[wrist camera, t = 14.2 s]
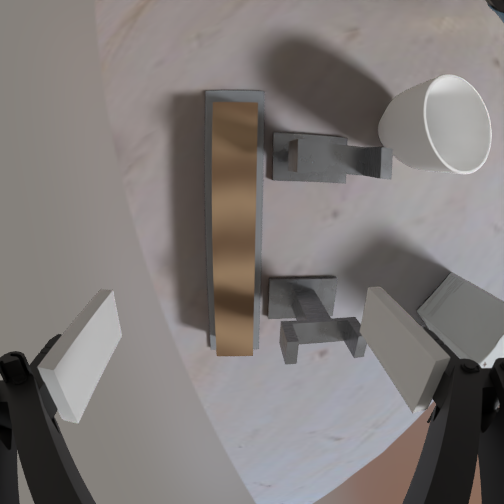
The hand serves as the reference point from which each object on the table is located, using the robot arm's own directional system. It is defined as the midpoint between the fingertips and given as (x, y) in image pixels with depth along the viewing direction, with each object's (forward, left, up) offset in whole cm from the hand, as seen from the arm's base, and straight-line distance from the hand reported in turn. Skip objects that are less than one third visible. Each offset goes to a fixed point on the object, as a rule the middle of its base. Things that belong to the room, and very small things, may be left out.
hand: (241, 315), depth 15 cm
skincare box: (+10, +30, -19) cm, 37 cm away
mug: (-12, +20, -19) cm, 30 cm away
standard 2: (+8, +8, -19) cm, 22 cm away
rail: (0, 0, -18) cm, 18 cm away
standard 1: (-8, +8, -19) cm, 22 cm away
